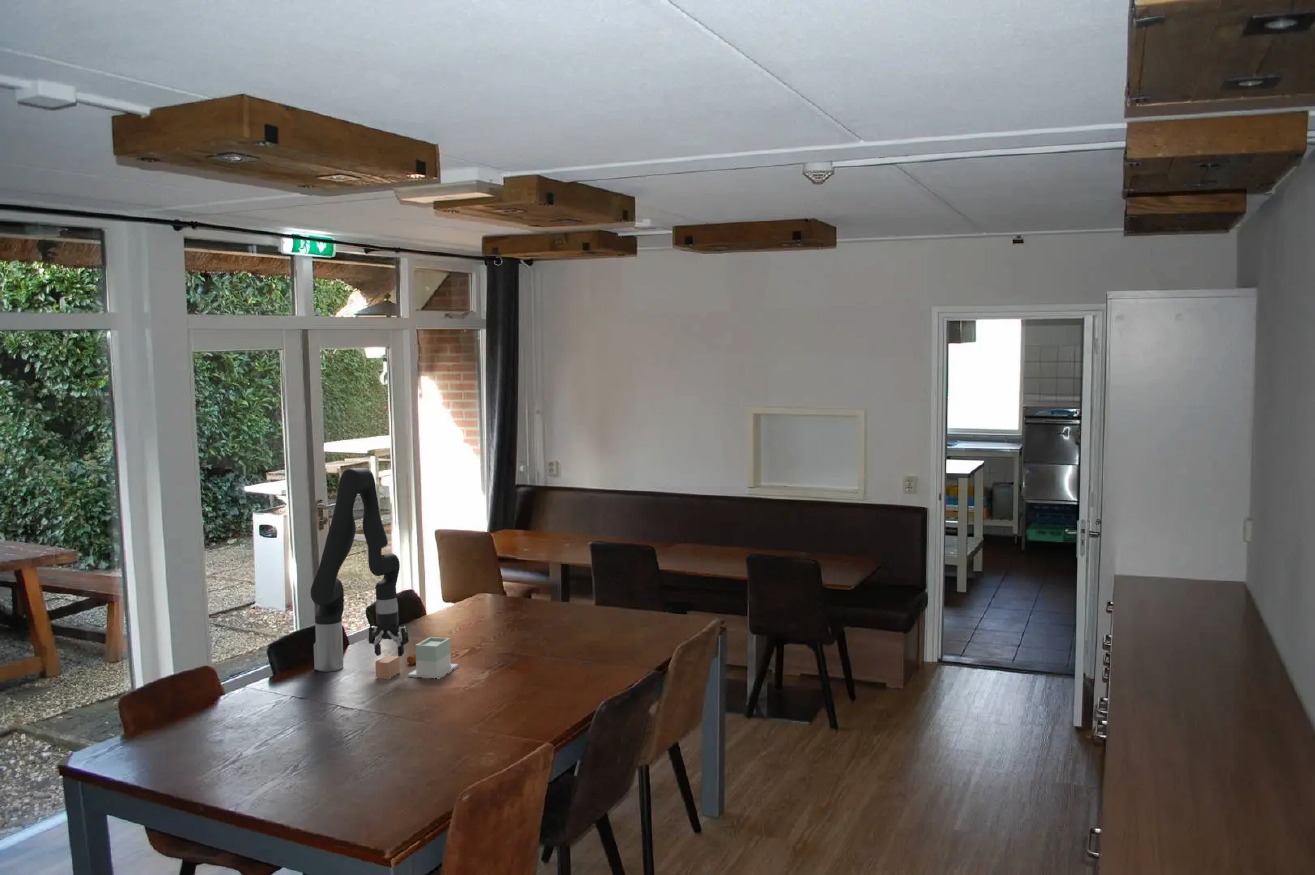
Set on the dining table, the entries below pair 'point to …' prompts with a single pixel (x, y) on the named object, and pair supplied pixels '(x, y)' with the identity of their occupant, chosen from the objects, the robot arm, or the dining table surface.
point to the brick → (387, 667)
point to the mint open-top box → (433, 658)
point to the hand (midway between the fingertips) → (389, 655)
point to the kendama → (412, 659)
